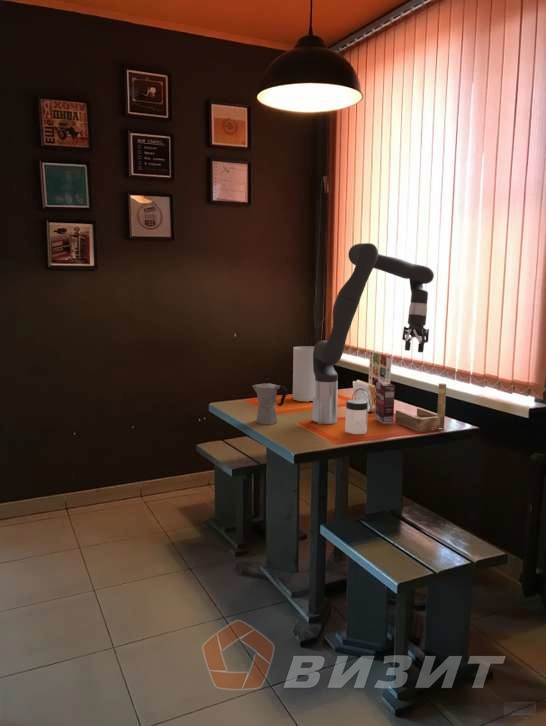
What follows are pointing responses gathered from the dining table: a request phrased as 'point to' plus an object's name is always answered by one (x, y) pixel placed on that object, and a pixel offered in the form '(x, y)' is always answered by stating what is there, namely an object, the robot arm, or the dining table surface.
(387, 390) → the supplement box
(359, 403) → the jar
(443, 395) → the bracket
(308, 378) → the cylinder vase
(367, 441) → the dining table surface
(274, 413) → the coffeepot
